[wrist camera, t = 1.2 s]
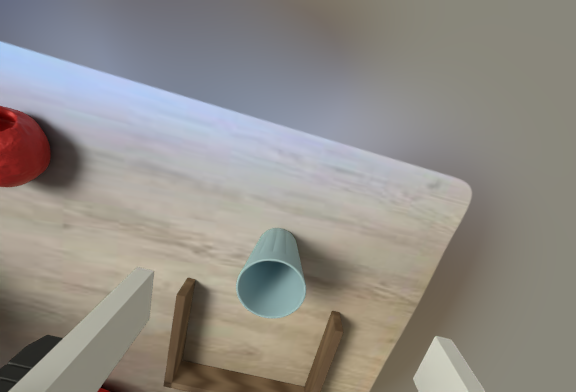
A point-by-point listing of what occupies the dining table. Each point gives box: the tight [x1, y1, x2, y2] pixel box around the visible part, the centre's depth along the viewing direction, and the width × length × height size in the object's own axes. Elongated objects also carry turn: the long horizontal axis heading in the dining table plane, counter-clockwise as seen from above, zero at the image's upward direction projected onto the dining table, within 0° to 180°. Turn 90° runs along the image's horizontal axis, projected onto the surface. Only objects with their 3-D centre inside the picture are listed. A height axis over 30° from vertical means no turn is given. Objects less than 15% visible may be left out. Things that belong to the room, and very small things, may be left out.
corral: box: [164, 278, 343, 392], centre depth 43 cm, size 24×18×4 cm
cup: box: [236, 228, 306, 318], centre depth 35 cm, size 8×8×10 cm
